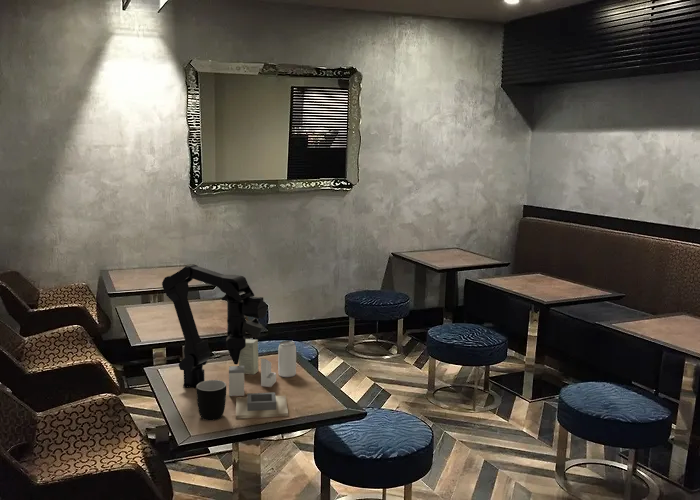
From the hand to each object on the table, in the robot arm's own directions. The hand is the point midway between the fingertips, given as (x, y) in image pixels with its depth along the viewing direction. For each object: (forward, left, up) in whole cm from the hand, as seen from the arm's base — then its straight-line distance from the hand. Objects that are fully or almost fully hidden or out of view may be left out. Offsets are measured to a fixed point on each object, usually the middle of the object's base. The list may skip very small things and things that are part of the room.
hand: (236, 359), depth 207 cm
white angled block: (+11, +8, -12) cm, 18 cm away
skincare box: (+4, +20, -12) cm, 24 cm away
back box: (+8, -13, -12) cm, 19 cm away
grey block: (0, 0, -12) cm, 12 cm away
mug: (-8, -16, -12) cm, 22 cm away
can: (+18, +16, -12) cm, 27 cm away
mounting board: (+8, -13, -12) cm, 19 cm away
